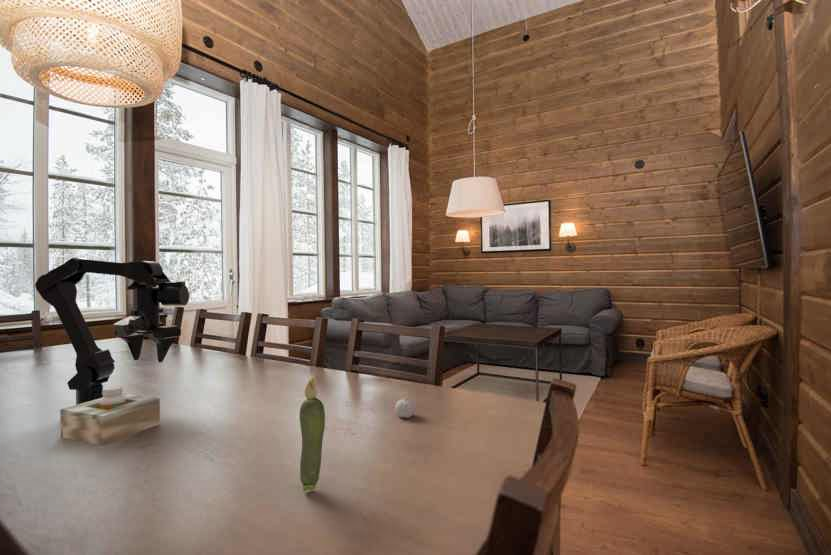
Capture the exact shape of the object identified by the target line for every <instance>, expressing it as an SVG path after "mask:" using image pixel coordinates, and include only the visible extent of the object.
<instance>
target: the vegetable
mask: <svg viewBox="0 0 831 555" xmlns="http://www.w3.org/2000/svg"><path fill="white" fill-rule="evenodd" d="M304 389H305V390H304V396H305V398H306V399H305V400H303V402H302V404H301V406H300V409H299V423H300V424H299V425H300V432H301V456H300V460H299V461H300V463H299V467H300V469H299V472H300V473H299V476H300V481H301V484H302V490H303V492H304V491H306V490H312V489H315V490H316V487H317V483H318V482H319V479H320V472H321V465H322V450H323V438H324V434H325V428H326V427H325V426H326V425H325V424H326V412H325V406H324V403H323V402H322V400H321V399H319V398H317V394H318V393H317V389H316V384H315V378H310V379H309V380H308V383H307V384H306V386H305V388H304ZM312 491H313V490H312ZM306 492H307V491H306Z"/></svg>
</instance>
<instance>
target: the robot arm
mask: <svg viewBox="0 0 831 555" xmlns="http://www.w3.org/2000/svg"><path fill="white" fill-rule="evenodd" d="M87 273H90V274H99V275H100V274H101V275H111V276H112V275H113V276H121V277H122V278H126V279H127V280H128V279H129V280H132V281H133V282H132V283H131V284H130V285H128V286H127V287H126V289H127V290H129V291H130V290H131V291H132V290H133V291H135V309H131V312H130V316H128V317H125V318H123V319H120V320H119V321H117V322H114V323H113V327H114V336H118V338H119V339H121V340H122V341H124V342H125V343H126V344H127V346H128V348H129V350H130V353H131V355H132V358H133V360H134V361H138V360H140V356H141V353H142V346H143V344H144V338H145V334H146V335H152V336H153V338H152V340H151V341H153V343H155V345H156V355H157V362H158V363H163V362H164V360H165V358H166V357H167V354H168V352H169V350H170V349H171V347H172V344H174V342H175V340H176V339H178V338H179V337H180V336H182V328H181V327H180V326H179V325H170V324H169V325H168V324H167V325H164V322H161V320H160V316H161V315H160V314H161V313H164V308H161V307H160V306H161V305H162V306H167V307H168V306H175V307H176V306H187V304H188V303H189V300H190V292H189V289H188V286H186V282H185V281H174V282H173V281H171V280H170V279H169V278H168V276H167V275H166V274H165V272H164V271H163V267H162V265H161V263H159V262H157V261H154V260H153V261H152V260H151V261H148V260H135V261H124V262H122V261H112V260H111V261H109V260H101V259H91V258H85V257H72V258H70V259H68V260H67V261H65V262H64V263H63V264H61V265H58V266H57V267H55V268H52V269H51V270H49V271H48V272H47V273H45V274H41V275H39V277H38V278H37V280H36V282H34V283H35V284H34V287H35V289H36V291H37V293H38V294H39V295H40V297H41V298H42V299H43V300H44V301H45V302H46V303H48V305H50V306H51V307H53V308H54V309H55V313H56V314H57V316H58V318H59V320H60V322H61V325H62V327H63V329H64V331H65V333H66V335H67V337H68V339H69V341H70V343H71V346H72V347H73V350H74V352H75V354H76V357H75V363H74V364H75V365H74V366H75V370H76V373H75V375H74V376H73V377H71V378H70V379H69V380H68V381H67V383H66V384H67V386H68V389H69V391H75V405H78V404H82V403H85V402H89V401H92V400H96V399H100V398H102V397H104V396H103V395H102V389H103V388H104V385H103V383H106V382H108V381H109V380H110V377H111V375H112V374H113V372H114V370H115V367H116V366H115V363H116V361H115V359H113V357H112V354H111V350H110V349H104V350H103V349H101V348H99V347H98V345H97V344H96V342H95V339H94V337H93V334H92V332H91V330H90V328H89V327H88V325H87V323H86V320H85V318H84V316H83V314H82V311H81V309H80V307H79V305H78V303H77V293H78V290H77V286H76V285H77V284H79V283H80V282H81V281H82V280H83V278H84V277H85V274H87ZM155 286H156V287H155ZM160 304H161V305H160ZM178 336H179V337H178Z"/></svg>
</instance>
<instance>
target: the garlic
mask: <svg viewBox="0 0 831 555" xmlns="http://www.w3.org/2000/svg"><path fill="white" fill-rule="evenodd" d="M394 412H395V413H396V415H397V416H399V417H400V418H403V419H409V418H411V417H412V416H413V415H414V414H415V413H416V405H415V402H413V401H412V397H405V398H402V399H400V400H397V401H396V403H395V405H394Z"/></svg>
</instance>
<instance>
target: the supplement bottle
mask: <svg viewBox="0 0 831 555" xmlns="http://www.w3.org/2000/svg"><path fill="white" fill-rule="evenodd" d="M121 393H123V386H122V385H112V386H107V387H106V386H105V387H103V389H102V395H103V397H102V398H101V399H100V400H99V409H104V410H109V409H113V408H116V407H119V406H122V405H126V397H125V396H124V395H121Z"/></svg>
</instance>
